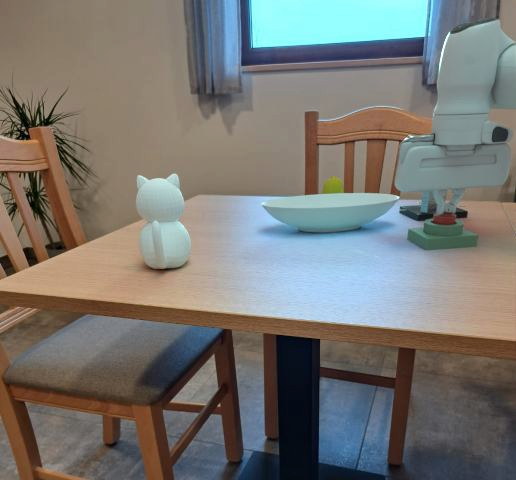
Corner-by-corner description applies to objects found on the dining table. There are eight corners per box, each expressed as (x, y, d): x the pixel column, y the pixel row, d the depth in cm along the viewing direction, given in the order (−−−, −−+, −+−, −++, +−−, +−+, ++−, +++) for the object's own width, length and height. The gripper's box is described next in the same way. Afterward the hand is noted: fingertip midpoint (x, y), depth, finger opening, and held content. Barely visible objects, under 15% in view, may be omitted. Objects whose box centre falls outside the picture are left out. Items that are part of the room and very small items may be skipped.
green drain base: (454, 236, 93) (457, 215, 91) (476, 246, 86) (480, 225, 84) (406, 239, 92) (409, 219, 90) (425, 250, 85) (428, 228, 83)
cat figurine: (193, 254, 87) (185, 170, 80) (191, 275, 76) (182, 180, 69) (145, 256, 87) (132, 172, 80) (136, 278, 76) (121, 183, 69)
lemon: (322, 206, 124) (323, 174, 120) (343, 206, 123) (345, 174, 119) (320, 210, 119) (322, 177, 115) (342, 210, 118) (344, 177, 114)
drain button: (448, 221, 89) (449, 212, 88) (459, 226, 85) (460, 216, 85) (428, 222, 88) (429, 213, 88) (438, 227, 85) (440, 217, 84)
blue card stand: (438, 203, 114) (442, 172, 111) (445, 204, 113) (449, 173, 110) (420, 212, 106) (424, 179, 102) (426, 213, 105) (431, 179, 101)
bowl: (267, 241, 93) (266, 211, 91) (257, 225, 107) (256, 197, 104) (409, 232, 96) (412, 202, 94) (382, 217, 110) (385, 190, 107)
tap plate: (446, 206, 118) (447, 199, 117) (483, 220, 104) (484, 212, 103) (386, 210, 116) (386, 203, 115) (415, 224, 102) (416, 217, 101)
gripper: (408, 136, 76) (399, 221, 82) (523, 130, 78) (505, 213, 85) (393, 134, 81) (385, 214, 88) (500, 129, 84) (485, 206, 90)
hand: (445, 213), depth 86 cm, fingers closed
